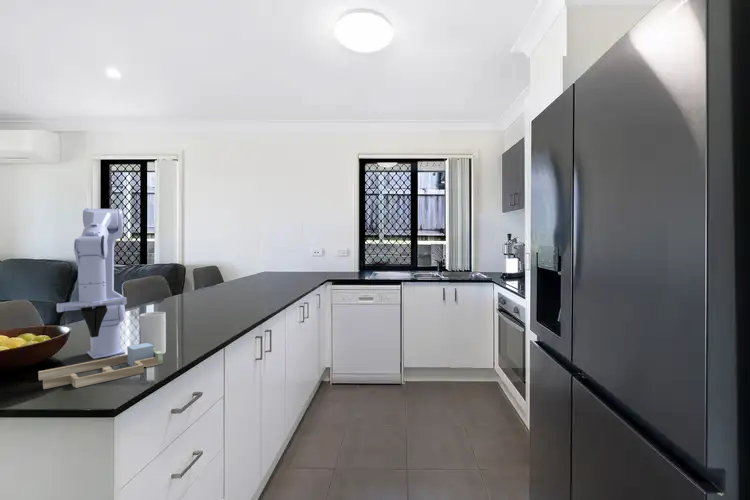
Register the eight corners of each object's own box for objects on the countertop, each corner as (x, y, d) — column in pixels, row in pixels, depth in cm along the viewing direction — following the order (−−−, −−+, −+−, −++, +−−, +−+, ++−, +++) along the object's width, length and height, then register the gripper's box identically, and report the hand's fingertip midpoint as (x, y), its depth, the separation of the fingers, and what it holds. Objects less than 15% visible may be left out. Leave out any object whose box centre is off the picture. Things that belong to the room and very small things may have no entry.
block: (127, 364, 110) (127, 346, 110) (147, 360, 113) (147, 342, 113) (133, 368, 106) (132, 349, 106) (153, 363, 110) (153, 345, 110)
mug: (164, 355, 117) (163, 314, 117) (138, 358, 115) (137, 316, 115) (169, 347, 127) (168, 309, 127) (145, 349, 125) (144, 311, 124)
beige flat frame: (38, 379, 98) (38, 367, 98) (151, 356, 116) (151, 346, 116) (46, 394, 88) (45, 381, 88) (168, 367, 106) (168, 356, 106)
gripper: (59, 287, 94) (61, 344, 94) (129, 281, 104) (131, 333, 105) (54, 285, 99) (56, 339, 99) (122, 280, 109) (123, 329, 110)
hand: (94, 336), depth 102 cm, fingers closed
